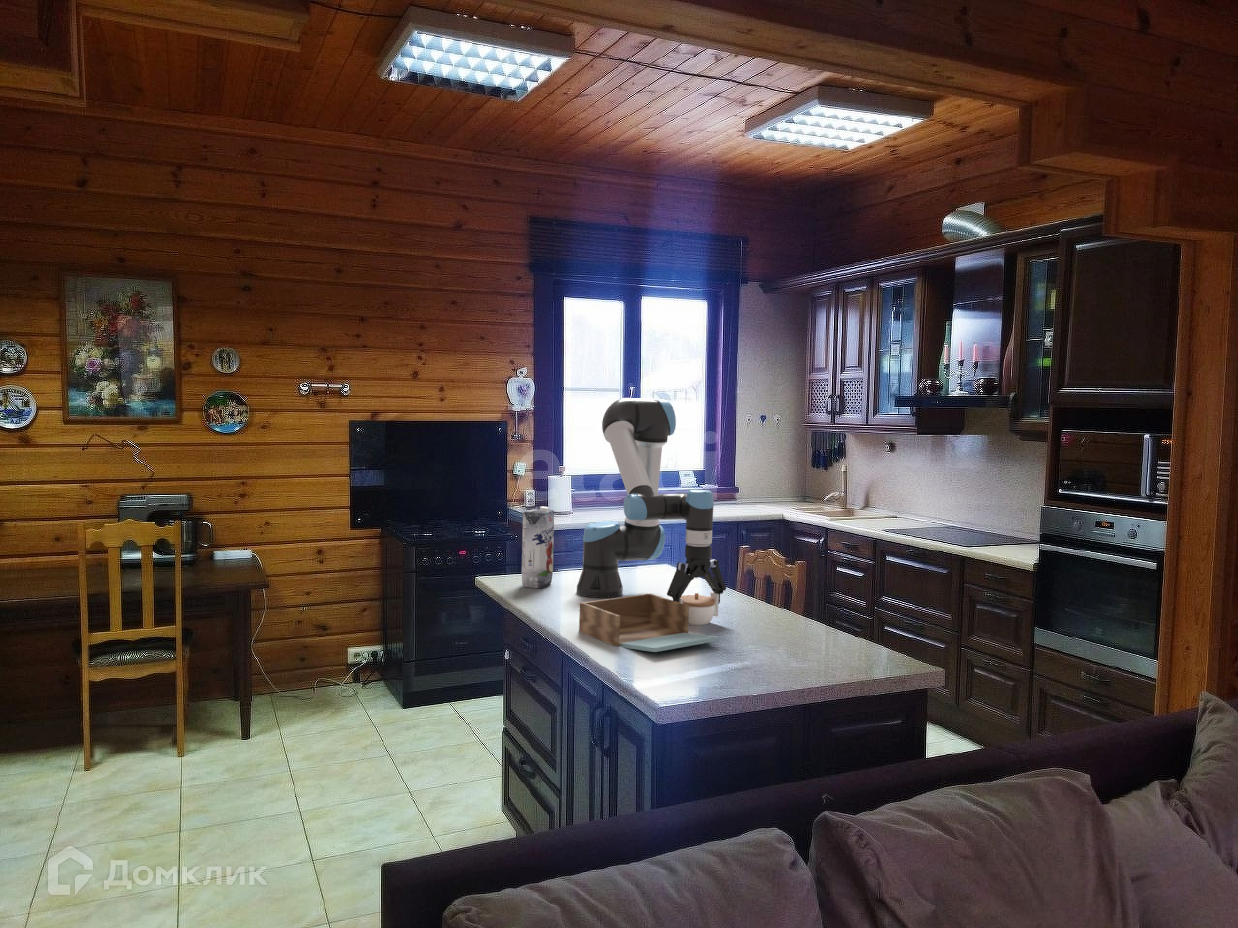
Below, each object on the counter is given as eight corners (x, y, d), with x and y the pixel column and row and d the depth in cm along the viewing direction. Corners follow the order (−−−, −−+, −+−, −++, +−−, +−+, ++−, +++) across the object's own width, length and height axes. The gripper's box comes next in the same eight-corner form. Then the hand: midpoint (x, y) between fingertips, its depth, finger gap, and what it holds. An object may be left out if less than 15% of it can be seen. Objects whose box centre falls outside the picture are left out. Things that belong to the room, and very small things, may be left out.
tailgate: (618, 642, 230) (654, 647, 218) (681, 632, 242) (718, 636, 230) (618, 646, 230) (654, 652, 218) (681, 636, 242) (719, 640, 230)
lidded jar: (720, 624, 258) (721, 592, 258) (704, 632, 249) (705, 599, 249) (687, 619, 264) (688, 587, 263) (670, 626, 255) (671, 594, 254)
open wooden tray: (578, 635, 242) (579, 602, 241) (649, 624, 256) (650, 593, 256) (615, 650, 228) (616, 616, 228) (687, 638, 242) (689, 605, 242)
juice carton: (518, 587, 301) (520, 507, 299) (530, 581, 311) (532, 503, 309) (543, 589, 298) (545, 508, 296) (554, 583, 308) (556, 505, 306)
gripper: (673, 549, 245) (670, 626, 246) (739, 543, 259) (737, 615, 261) (656, 545, 251) (653, 620, 252) (722, 539, 265) (719, 610, 267)
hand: (696, 618), depth 256 cm, fingers open, 13 cm apart
